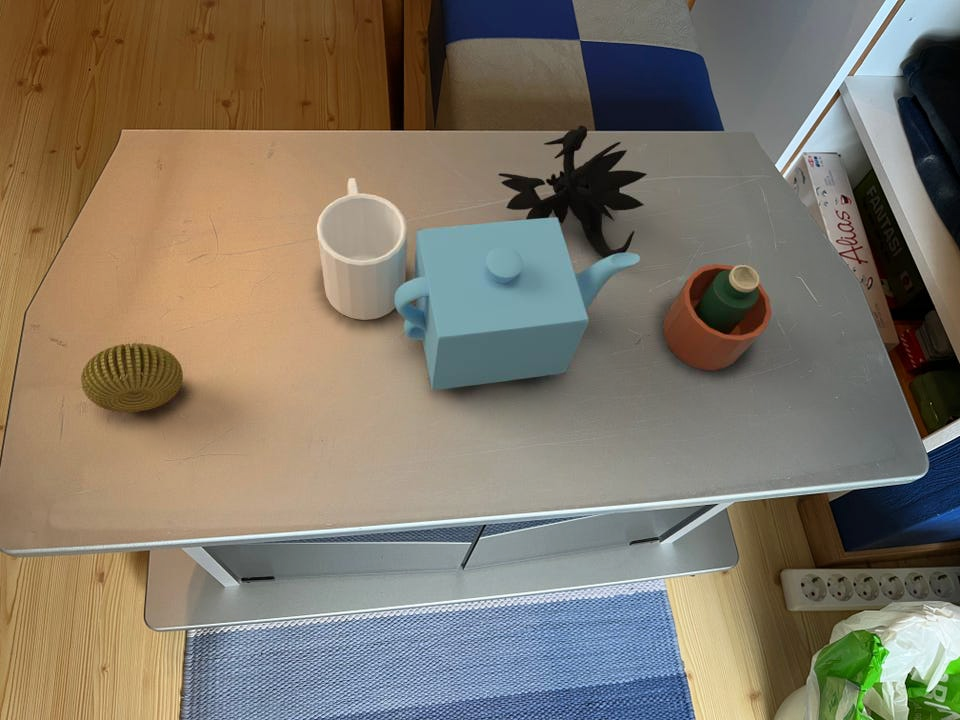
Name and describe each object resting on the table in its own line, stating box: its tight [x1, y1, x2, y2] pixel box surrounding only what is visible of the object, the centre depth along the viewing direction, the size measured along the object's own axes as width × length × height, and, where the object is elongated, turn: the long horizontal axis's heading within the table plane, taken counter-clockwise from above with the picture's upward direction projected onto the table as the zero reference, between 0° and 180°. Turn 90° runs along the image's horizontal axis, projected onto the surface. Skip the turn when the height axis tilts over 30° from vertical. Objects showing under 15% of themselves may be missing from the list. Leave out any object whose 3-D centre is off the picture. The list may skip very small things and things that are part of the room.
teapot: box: [394, 216, 641, 391], centre depth 69 cm, size 22×11×14 cm, turn 101°
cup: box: [662, 263, 772, 371], centre depth 75 cm, size 9×9×6 cm
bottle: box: [694, 264, 760, 335], centre depth 73 cm, size 4×4×10 cm
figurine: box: [497, 124, 648, 259], centre depth 78 cm, size 16×13×11 cm
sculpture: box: [80, 342, 184, 413], centre depth 64 cm, size 8×4×8 cm, turn 107°
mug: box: [316, 177, 408, 321], centre depth 73 cm, size 8×12×10 cm, turn 13°
